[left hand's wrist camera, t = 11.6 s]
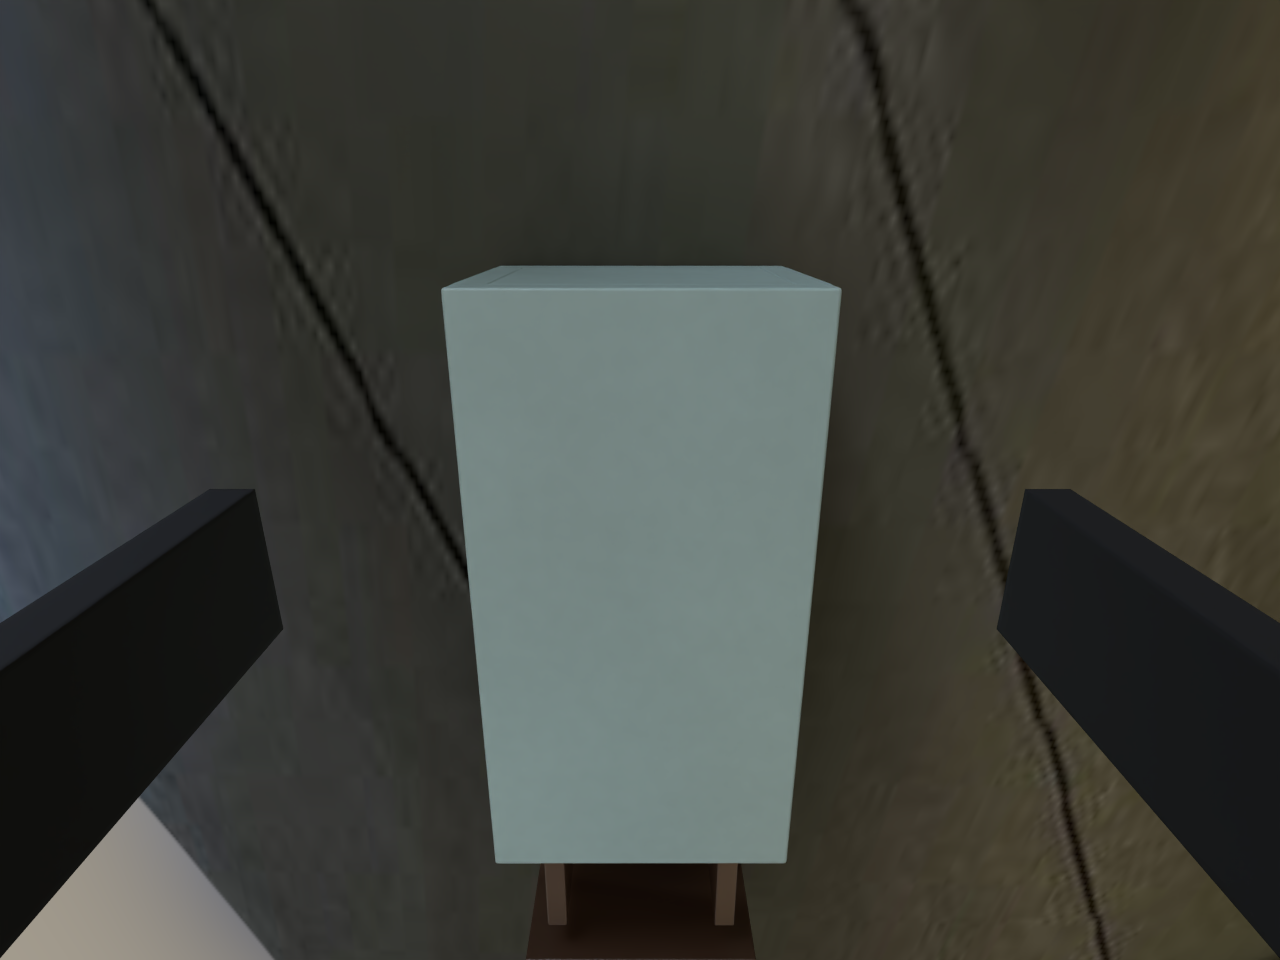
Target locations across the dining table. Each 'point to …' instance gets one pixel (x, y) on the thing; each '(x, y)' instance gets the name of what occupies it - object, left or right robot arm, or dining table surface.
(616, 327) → the cabinet
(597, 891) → the drawer
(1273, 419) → the dining table surface
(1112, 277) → the dining table surface
